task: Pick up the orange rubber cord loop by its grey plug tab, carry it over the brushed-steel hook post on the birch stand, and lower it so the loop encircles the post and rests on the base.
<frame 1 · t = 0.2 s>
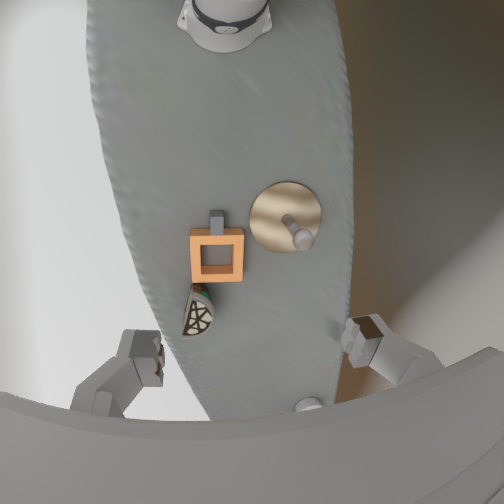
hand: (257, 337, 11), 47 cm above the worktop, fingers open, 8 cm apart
food container: (200, 295, 66), on the worktop
hook stand: (285, 217, 60), on the worktop
cord loop: (216, 251, 61), on the worktop
ramekin: (306, 402, 97), on the worktop
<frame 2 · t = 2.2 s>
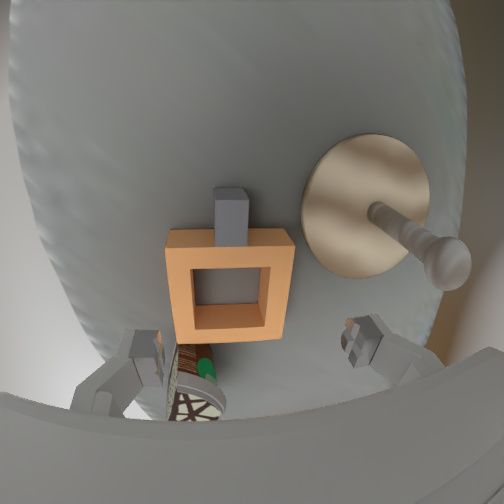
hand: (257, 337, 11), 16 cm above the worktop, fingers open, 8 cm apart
food container: (196, 354, 34), on the worktop
hook stand: (369, 207, 27), on the worktop
cord loop: (227, 277, 29), on the worktop
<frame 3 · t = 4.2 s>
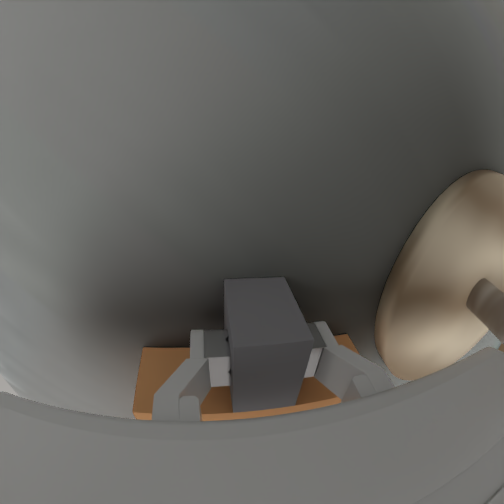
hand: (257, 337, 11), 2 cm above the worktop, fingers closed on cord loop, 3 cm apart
hook stand: (464, 282, 15), on the worktop
cord loop: (246, 402, 16), on the worktop, touching gripper
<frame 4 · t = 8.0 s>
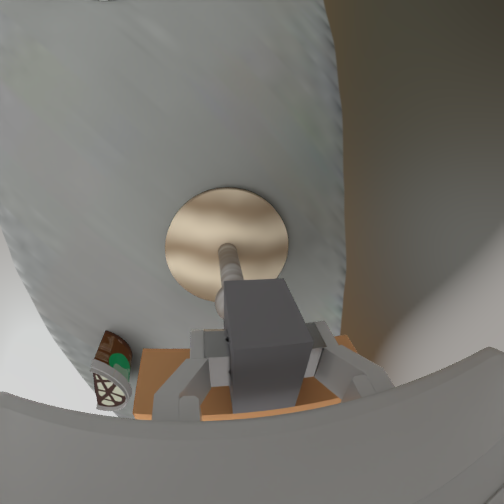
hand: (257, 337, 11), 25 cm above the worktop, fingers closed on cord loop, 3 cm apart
food container: (122, 352, 42), on the worktop
hook stand: (226, 246, 37), on the worktop
cord loop: (246, 402, 16), point 23 cm above the worktop, touching gripper
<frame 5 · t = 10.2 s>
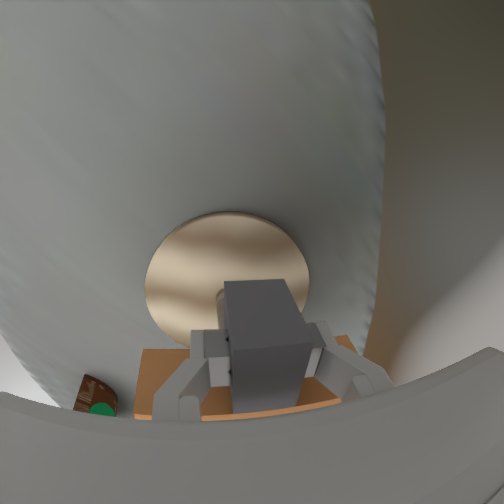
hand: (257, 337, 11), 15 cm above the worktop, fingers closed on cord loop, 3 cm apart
food container: (106, 395, 33), on the worktop
hook stand: (227, 288, 27), on the worktop
cord loop: (246, 402, 16), point 13 cm above the worktop, touching gripper
when the fingers open (5 cm above the worktop, at t = 12.2 s): cord loop drops 2 cm, resting on hook stand.
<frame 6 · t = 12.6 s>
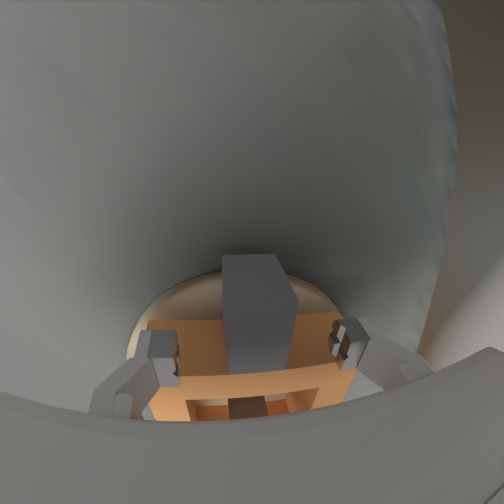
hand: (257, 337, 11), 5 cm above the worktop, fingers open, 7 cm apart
hook stand: (239, 363, 19), on the worktop
cord loop: (242, 378, 18), point 1 cm above the worktop, touching hook stand
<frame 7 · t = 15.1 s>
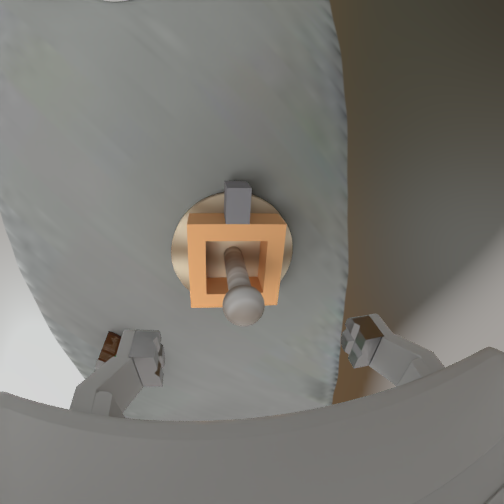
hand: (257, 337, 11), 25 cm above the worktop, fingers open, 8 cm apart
food container: (124, 352, 43), on the worktop
hook stand: (231, 249, 37), on the worktop
cord loop: (232, 253, 36), point 1 cm above the worktop, touching hook stand
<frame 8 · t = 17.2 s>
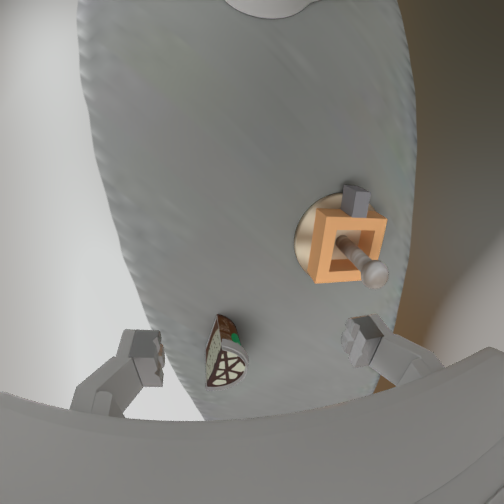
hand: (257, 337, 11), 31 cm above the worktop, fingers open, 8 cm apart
food container: (226, 334, 52), on the worktop
hook stand: (337, 238, 46), on the worktop
cord loop: (341, 240, 44), point 1 cm above the worktop, touching hook stand
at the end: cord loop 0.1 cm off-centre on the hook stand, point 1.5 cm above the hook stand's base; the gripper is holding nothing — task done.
